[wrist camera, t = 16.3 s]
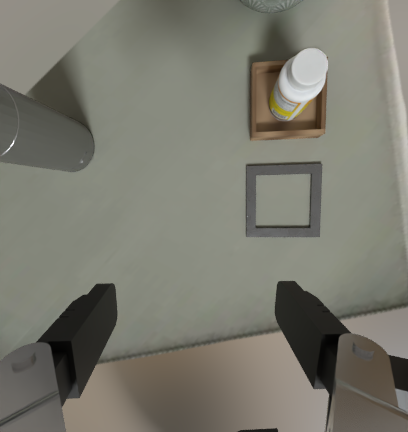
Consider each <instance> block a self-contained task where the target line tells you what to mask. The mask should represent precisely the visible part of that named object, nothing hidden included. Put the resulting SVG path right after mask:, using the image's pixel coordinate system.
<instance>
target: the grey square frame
mask: <svg viewBox="0 0 408 432" xmlns="http://www.w3.org/2000/svg"><path fill="white" fill-rule="evenodd" d="M281 174H311V197H310V228H256V175H281ZM321 184H322V164H298V165H267V166H246V237H320V213H321Z"/></svg>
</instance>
